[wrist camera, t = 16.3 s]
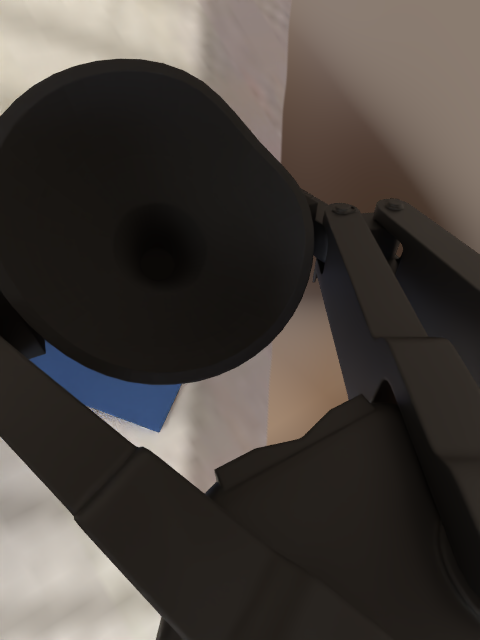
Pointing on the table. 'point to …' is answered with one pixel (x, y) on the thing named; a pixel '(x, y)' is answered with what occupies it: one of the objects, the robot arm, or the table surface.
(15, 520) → the table surface
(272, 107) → the table surface
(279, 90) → the table surface
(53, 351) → the blue cloth
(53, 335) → the pen holder
